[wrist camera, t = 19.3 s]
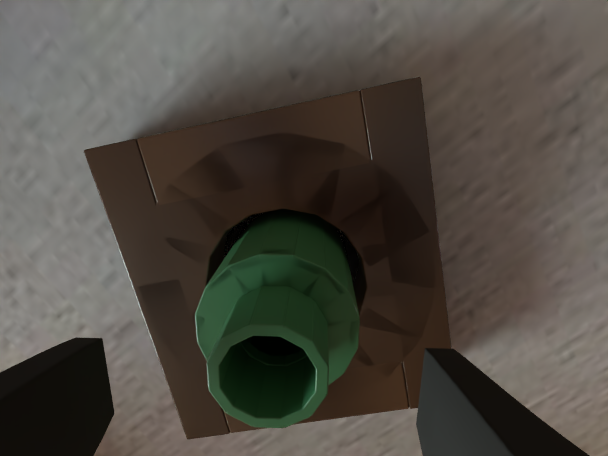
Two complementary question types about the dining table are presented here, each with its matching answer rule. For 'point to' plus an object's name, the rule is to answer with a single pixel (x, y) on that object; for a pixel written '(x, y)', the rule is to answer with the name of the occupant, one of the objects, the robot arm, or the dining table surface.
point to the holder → (294, 196)
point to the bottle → (278, 319)
